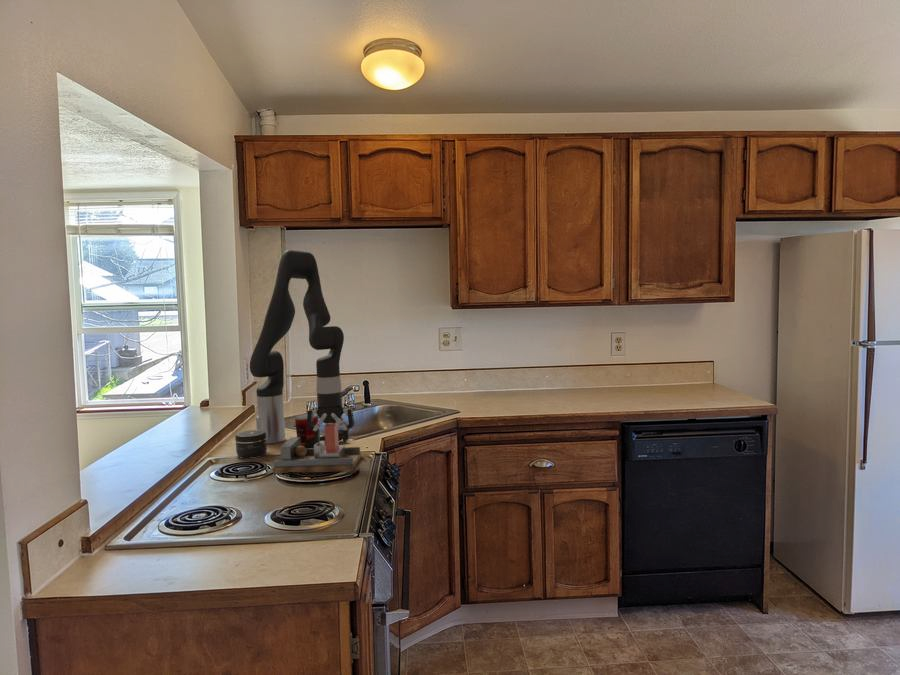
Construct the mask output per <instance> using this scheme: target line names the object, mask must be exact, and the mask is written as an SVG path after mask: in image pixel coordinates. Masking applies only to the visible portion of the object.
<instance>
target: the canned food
mask: <svg viewBox="0 0 900 675" xmlns="http://www.w3.org/2000/svg"><path fill="white" fill-rule="evenodd" d="M294 418H295V419H294V420H295V431H296V437H301V446H304V445H305V443H306V441H307V439H309V438H312V437H314V431H313V430H311V429H308V428H307V413H304V414H303V413H302V414H299V415H296V416H295V417H294ZM318 421H319V416H318V415H317V414H315V416H314V417H313V425H316V424H317V422H318Z"/></svg>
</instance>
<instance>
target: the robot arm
mask: <svg viewBox="0 0 900 675" xmlns="http://www.w3.org/2000/svg"><path fill="white" fill-rule="evenodd" d="M318 268H319V267H318V263H317V260H316V257H315V255H314V254H313V253H311V252H308V251H302V250H293V249H287V250H284V251H283V252H282V255H281V257H280V259H279V263H278V268H277V273H276V274H277V275H276V279H275V285H274V288H273V291H272V295H271V298H270V302H269V305H268V308H267V310H266V314H265V318H264V322H263V325H262V329H261V330H260V333H259V338H258V340H257V343H256V345H255V347H254V349H253V352H252V353H251V355H250V356H251V357H250V361H249V371H250V374H251V375H252V376H253V377H254V378H267V377H268V378H267V380H266V381H265V382H264V383H263V384H261V385H259V386H258V387H257V388H256V392H255V393H256V407H257V408H256V409H257V416H256V417H255V422H256V423H255V425H256V430H263V431H265V432H266V437H267V439H266V443H267V445H268V444H278V443H281V442H285V441H286V430H285V429H286V428H285V426H286V425H285V408H284V394H283V392H284V391H283V389H284V384H285V383H284V382H285V380H284V372H285V369H284V368H285V366H284V360H283V359H284V358H283V355H282V354H281V352H280V351H277V350H272V349H273V348H274V347H275V345H276V344H277V343H278V342H280V340H282V339H283V337H285V335H286V334H288V332H289V331H290V329H291V327H292V324H293V321H294V318H295V314H296V306H295V304H294V301H293V299H292V297H291V294H290V291H289V287H290V286H289V285H290V281H291V279H297V280H298V279H299V280H306V283H307V285H308V286H307V290H306V292H305V294H304V297H303V301H302V306H303V307H302V308H303V310H304V313H305V316H306V319H307V322H308V342H309V346H310V347H311V348H312V349H314V350H316V351H322V350H323V351H325V350H329V352H328V354H327V355H325V356H322V357H319V358H317V359H316V365H315V366H316V367H315V368H316V390H315V391H316V398H317V399H316V402H317V408H316V409H312V408H310V409H309V410H308V411H307V412H306V414H307V428H308V429H311V430H313V431H314V440H315V441H316V443H319V442H320V437H321V434H320V432H321V431H320V427H321V426H322V424H323V423H324V424H325V425H326V424H327V423H336V422H337V423H338V426H340V427H341V428H342V430H343V443H347V441H348V440H349V438H350V433H349V432H350V431H349V429H352V428H353V427H354V426H355V419H354V410H353V407H349V408H344V407H343V398H342V397H343V396H342V381H341V372H340V361H341V354H342V350H343V346H344V340H345V336H344V332H343V330H342V328H341V327H339V326H338V325H336V326H335V325H332V326H330V325H329V323H330V322H331V315H330V312H329V310H328V307H327V304H326V300H325V299H324V295H323V291H322V285H321V284H322V283H321V278H320V273H319V269H318ZM328 325H329V326H328ZM315 414H317V415H318V422H317V424H316V425H313V417H314V416H315ZM343 414H345V416H347V418H348V424H347V422H346V421H345V419H344V418H343V417H342V416H343Z"/></svg>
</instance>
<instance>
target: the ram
mask: <svg viewBox="0 0 900 675" xmlns="http://www.w3.org/2000/svg"><path fill="white" fill-rule="evenodd" d="M338 430H339V424H338V423H337V422H336V423H326V424H325V425H324V436H325V441H320V442H319V443H316V444H315V445H314V458H315V459H322V458H343V457H344V455H345V447H346V444H340V441H338ZM325 444H326V445H325Z"/></svg>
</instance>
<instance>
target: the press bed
mask: <svg viewBox="0 0 900 675" xmlns="http://www.w3.org/2000/svg"><path fill="white" fill-rule="evenodd" d="M343 458H353V465H342V466H308V467H274V466H273V468H272V474H289V473H288V472H302V473H328V472H330V473H332V472H334V473H335V472H353V471H354V469H355V467H356V465H357V464H358V462H359V461H360V459H361V458H362V452H361V451H360V454H345V455H344V457H343ZM298 459H315V458H314V455H305V456H304V457H299V458H298Z"/></svg>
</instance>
